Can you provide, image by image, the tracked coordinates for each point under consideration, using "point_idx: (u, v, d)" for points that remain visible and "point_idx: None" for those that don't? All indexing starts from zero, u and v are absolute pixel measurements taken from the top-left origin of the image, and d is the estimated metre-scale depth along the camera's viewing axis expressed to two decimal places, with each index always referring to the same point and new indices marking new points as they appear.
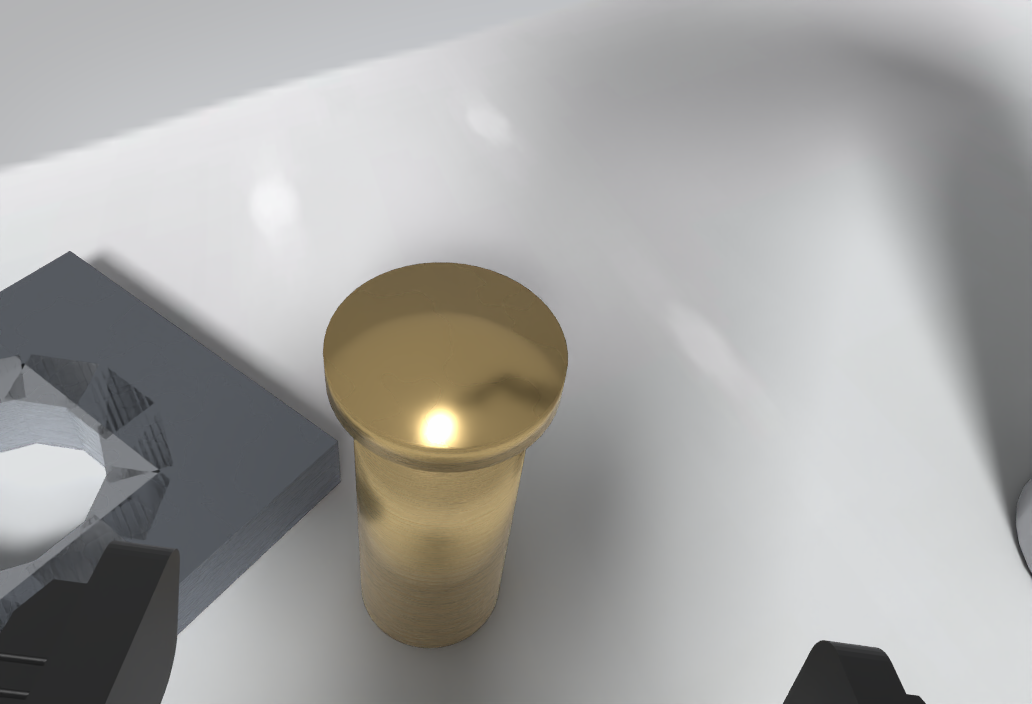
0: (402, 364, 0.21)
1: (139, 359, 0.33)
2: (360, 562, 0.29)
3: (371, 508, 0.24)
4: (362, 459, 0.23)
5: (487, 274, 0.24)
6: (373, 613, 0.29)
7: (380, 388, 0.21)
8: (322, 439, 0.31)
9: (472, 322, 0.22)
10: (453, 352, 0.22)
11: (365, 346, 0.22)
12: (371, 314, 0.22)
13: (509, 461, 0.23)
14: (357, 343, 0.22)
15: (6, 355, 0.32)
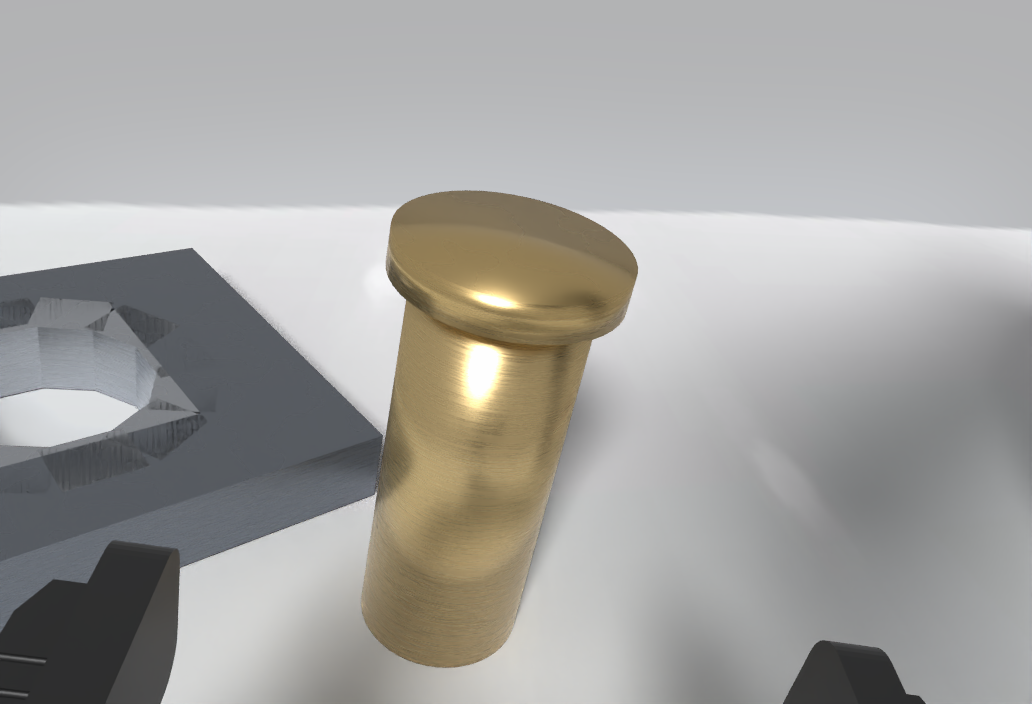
0: (467, 240, 0.21)
1: (218, 331, 0.33)
2: None
3: (397, 427, 0.23)
4: (402, 356, 0.22)
5: (572, 214, 0.23)
6: (367, 607, 0.26)
7: (439, 247, 0.20)
8: (368, 430, 0.30)
9: (546, 235, 0.22)
10: (521, 246, 0.21)
11: (435, 222, 0.21)
12: (449, 207, 0.22)
13: (553, 380, 0.21)
14: (428, 219, 0.21)
15: (101, 299, 0.33)
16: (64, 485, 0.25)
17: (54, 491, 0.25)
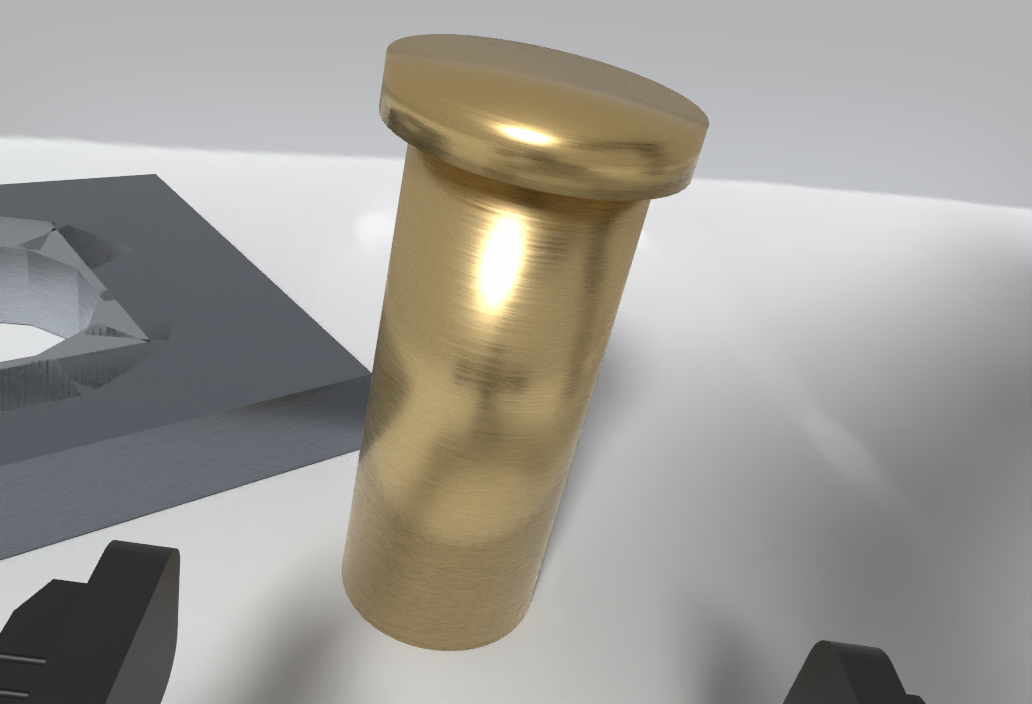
0: (486, 73, 0.16)
1: (179, 256, 0.28)
2: None
3: (390, 331, 0.18)
4: (398, 235, 0.17)
5: (617, 69, 0.18)
6: (349, 575, 0.21)
7: (450, 75, 0.15)
8: (354, 367, 0.25)
9: (588, 81, 0.17)
10: (556, 85, 0.16)
11: (445, 55, 0.16)
12: (462, 46, 0.17)
13: (596, 261, 0.16)
14: (436, 52, 0.16)
15: (41, 219, 0.28)
16: None
17: None
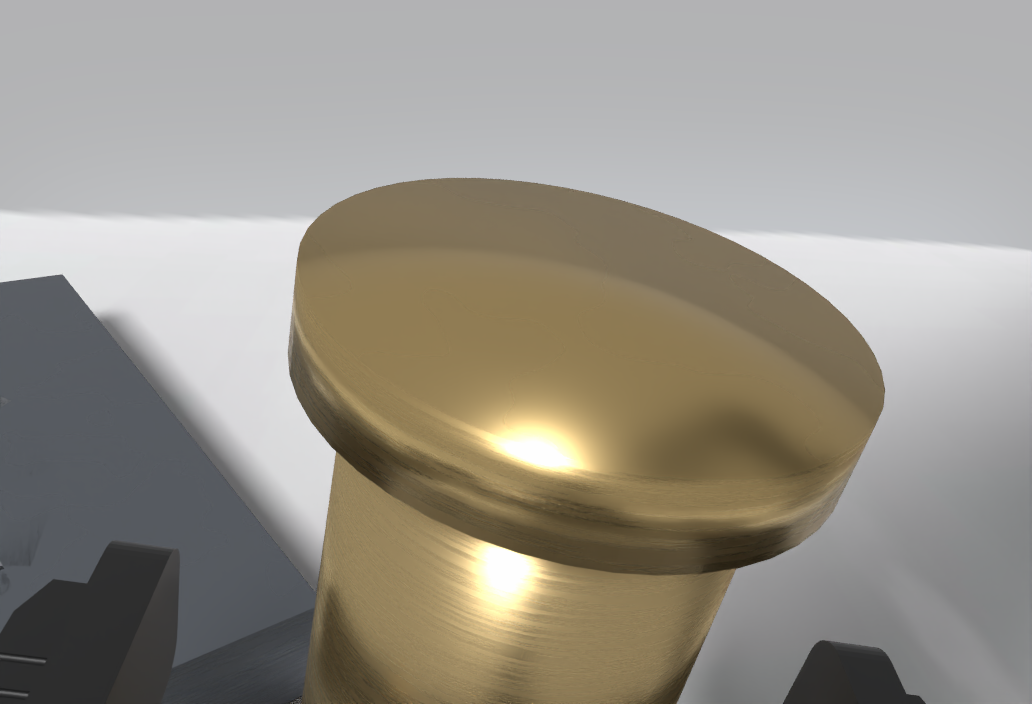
0: (482, 287, 0.09)
1: (72, 409, 0.21)
2: None
3: (321, 685, 0.10)
4: (330, 543, 0.10)
5: (696, 230, 0.11)
6: None
7: (413, 306, 0.08)
8: (299, 593, 0.17)
9: (657, 275, 0.10)
10: (607, 301, 0.09)
11: (408, 243, 0.09)
12: (440, 211, 0.10)
13: (681, 622, 0.09)
14: (392, 235, 0.09)
15: None
16: None
17: None
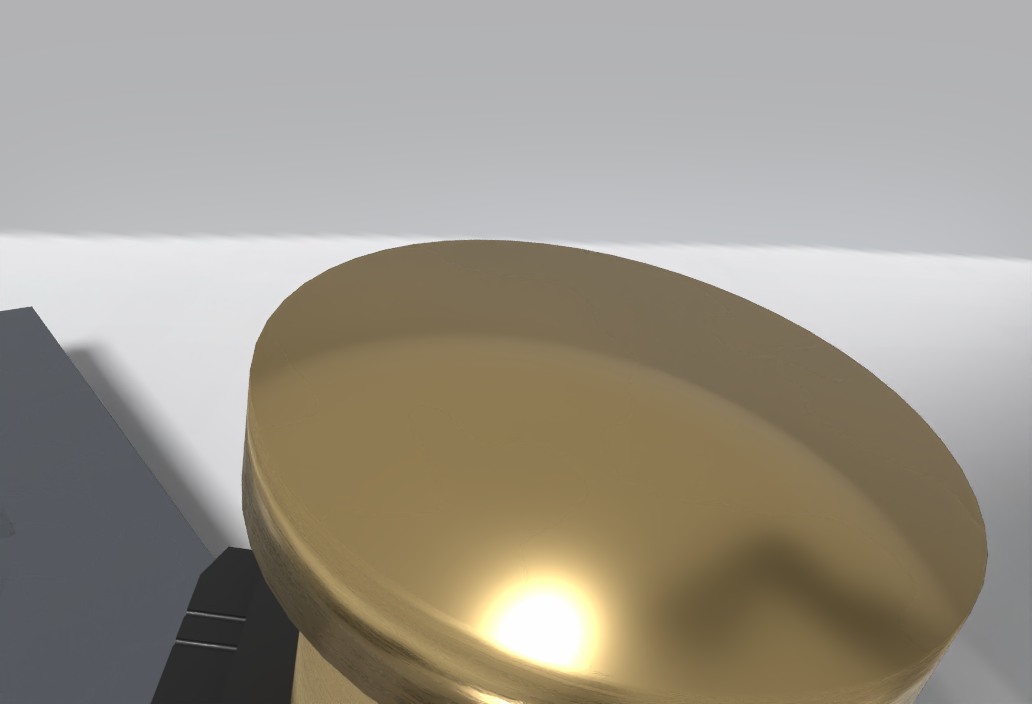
0: (482, 398, 0.07)
1: (36, 462, 0.19)
2: None
3: None
4: (299, 693, 0.08)
5: (733, 301, 0.10)
6: None
7: (396, 433, 0.06)
8: None
9: (694, 368, 0.08)
10: (637, 411, 0.07)
11: (391, 337, 0.07)
12: (431, 288, 0.08)
13: None
14: (372, 326, 0.08)
15: None
16: None
17: None
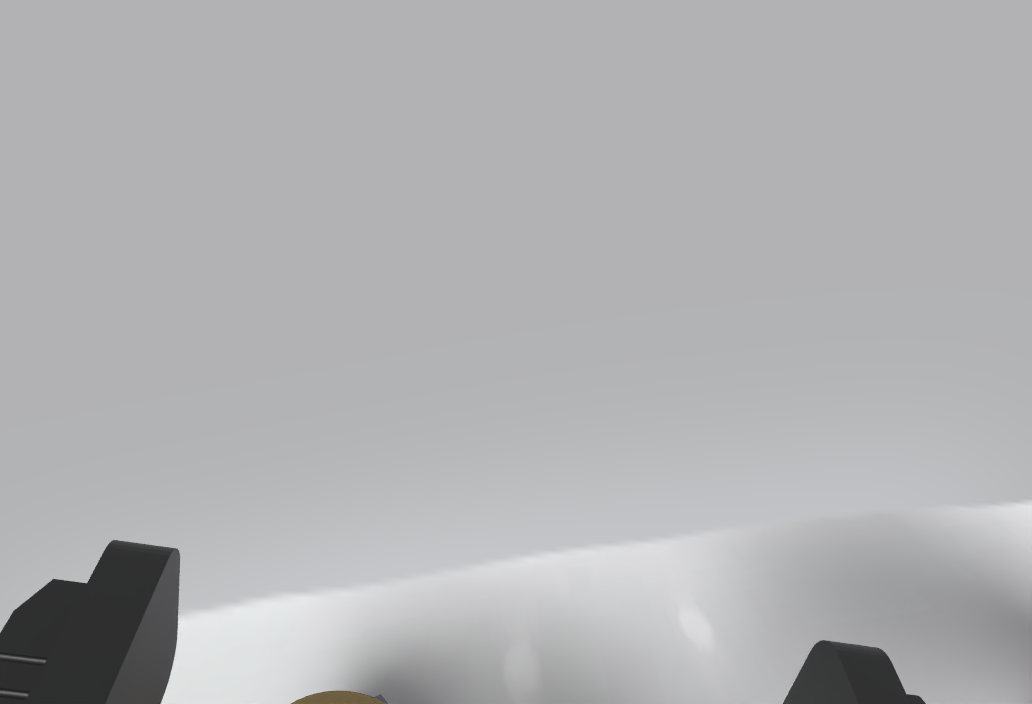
0: None
1: None
2: None
3: None
4: None
5: None
6: None
7: None
8: None
9: None
10: None
11: None
12: None
13: None
14: None
15: None
16: None
17: None
